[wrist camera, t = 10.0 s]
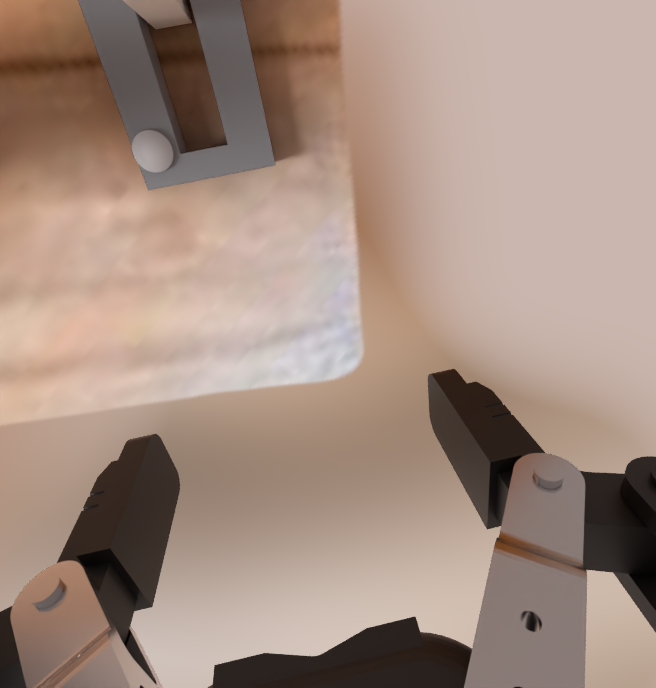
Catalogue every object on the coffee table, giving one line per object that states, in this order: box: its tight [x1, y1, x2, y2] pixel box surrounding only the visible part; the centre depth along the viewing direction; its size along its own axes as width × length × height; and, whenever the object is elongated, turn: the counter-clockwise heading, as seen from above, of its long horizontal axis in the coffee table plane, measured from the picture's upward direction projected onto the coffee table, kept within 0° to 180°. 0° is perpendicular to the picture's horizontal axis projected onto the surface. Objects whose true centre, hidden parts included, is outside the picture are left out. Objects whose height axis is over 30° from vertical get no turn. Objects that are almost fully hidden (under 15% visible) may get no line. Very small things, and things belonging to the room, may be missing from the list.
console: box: [78, 0, 275, 190], centre depth 28 cm, size 10×18×4 cm, turn 9°
